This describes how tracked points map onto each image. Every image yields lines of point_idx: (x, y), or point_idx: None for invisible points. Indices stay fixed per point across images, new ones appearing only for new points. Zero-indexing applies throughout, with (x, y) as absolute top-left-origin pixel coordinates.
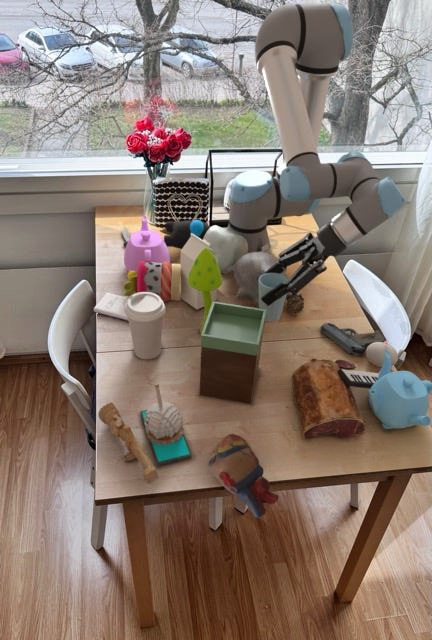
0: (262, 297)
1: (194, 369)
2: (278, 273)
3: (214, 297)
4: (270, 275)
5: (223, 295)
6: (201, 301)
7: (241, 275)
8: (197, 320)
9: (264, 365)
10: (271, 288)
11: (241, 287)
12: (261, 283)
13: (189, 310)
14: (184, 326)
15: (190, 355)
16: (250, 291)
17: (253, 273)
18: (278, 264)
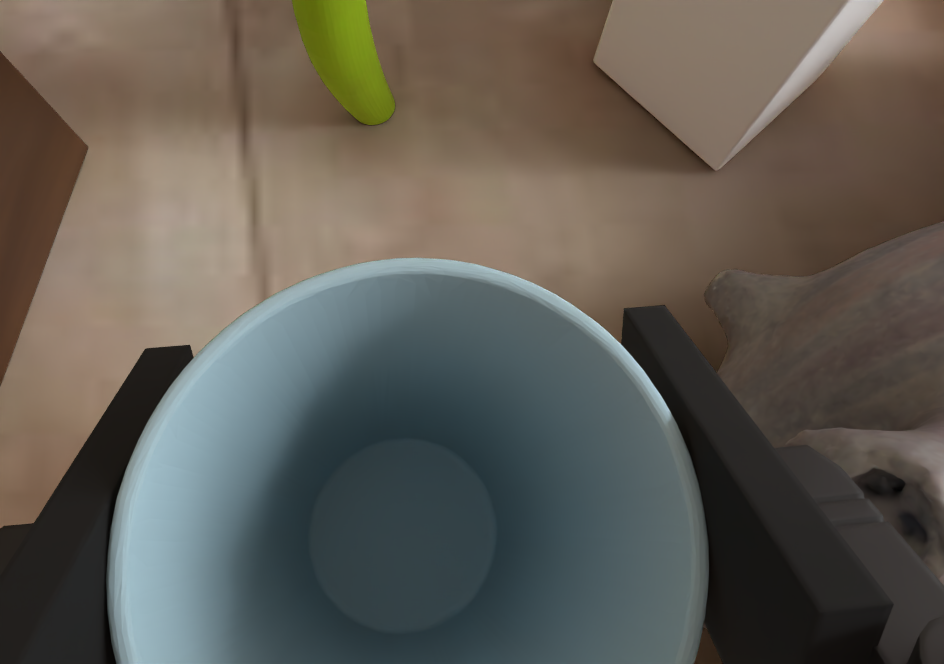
0: (170, 360)
1: (24, 66)
2: (721, 633)
3: (714, 142)
4: (661, 482)
5: (787, 220)
6: (631, 51)
7: (910, 249)
8: (490, 71)
9: (18, 495)
10: (130, 466)
11: (792, 285)
12: (299, 293)
13: (585, 26)
14: (424, 5)
15: (152, 42)
16: (747, 360)
17: (928, 340)
18: (848, 638)
